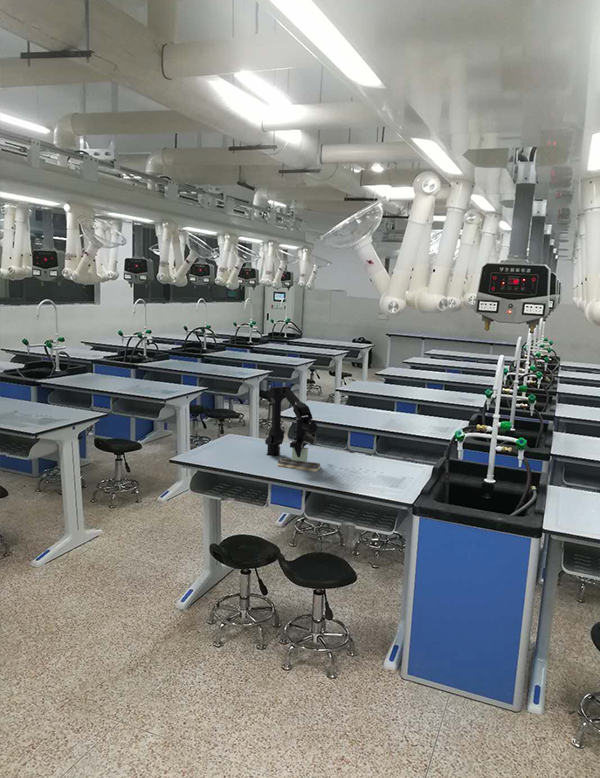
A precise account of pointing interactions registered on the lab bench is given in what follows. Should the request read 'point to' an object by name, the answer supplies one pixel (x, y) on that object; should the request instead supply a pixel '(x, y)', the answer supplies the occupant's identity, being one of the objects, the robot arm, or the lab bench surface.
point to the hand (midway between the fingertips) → (299, 456)
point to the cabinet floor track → (299, 464)
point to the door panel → (302, 457)
